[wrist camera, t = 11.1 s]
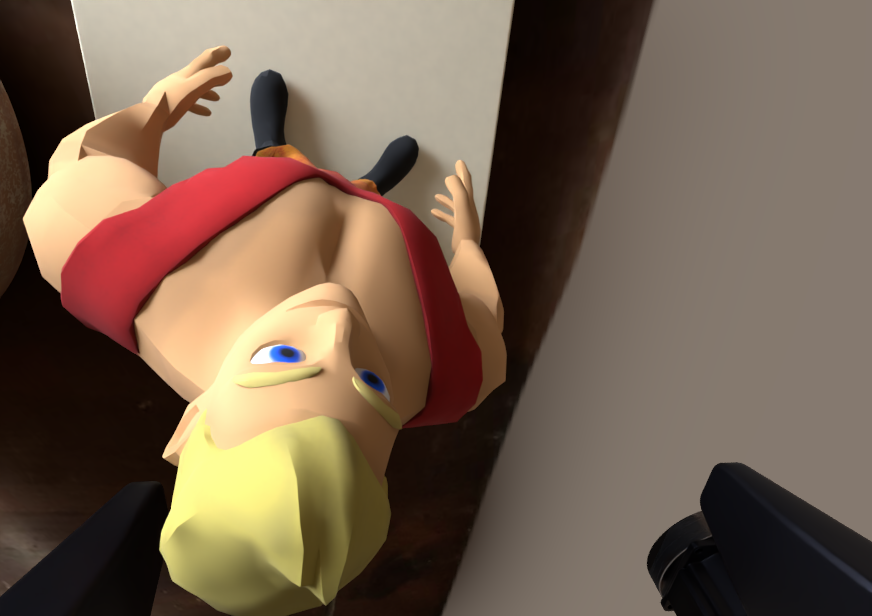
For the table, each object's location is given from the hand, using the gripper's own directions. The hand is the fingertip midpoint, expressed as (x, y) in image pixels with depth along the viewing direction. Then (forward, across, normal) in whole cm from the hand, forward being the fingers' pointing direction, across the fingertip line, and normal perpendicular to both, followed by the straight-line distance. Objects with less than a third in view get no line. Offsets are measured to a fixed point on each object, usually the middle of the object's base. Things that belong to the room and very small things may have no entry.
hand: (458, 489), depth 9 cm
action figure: (+12, +2, -3) cm, 12 cm away
